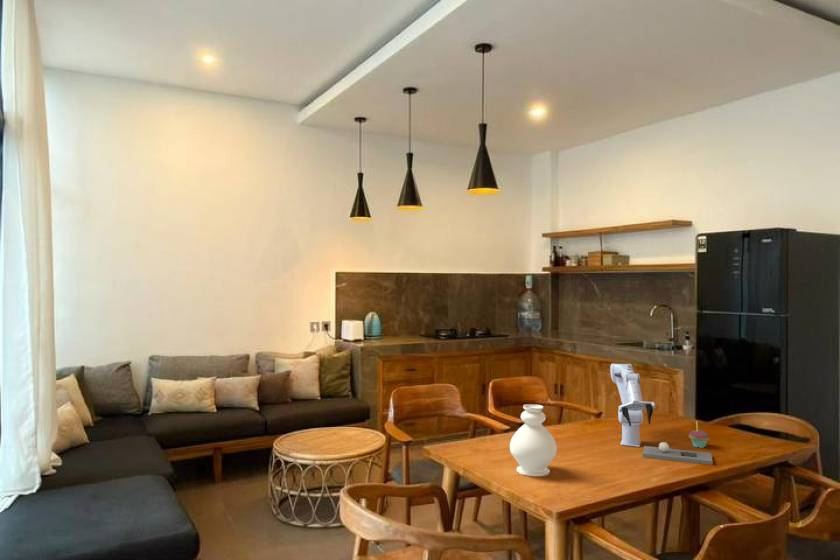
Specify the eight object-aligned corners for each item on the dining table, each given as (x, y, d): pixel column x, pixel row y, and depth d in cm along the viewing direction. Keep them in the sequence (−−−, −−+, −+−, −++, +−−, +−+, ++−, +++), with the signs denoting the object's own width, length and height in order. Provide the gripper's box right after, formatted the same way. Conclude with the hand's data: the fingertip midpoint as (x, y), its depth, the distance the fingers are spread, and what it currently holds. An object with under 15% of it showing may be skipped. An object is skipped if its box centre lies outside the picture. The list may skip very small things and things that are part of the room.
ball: (658, 450, 249) (658, 440, 249) (669, 451, 247) (669, 441, 247) (658, 452, 245) (658, 443, 245) (669, 453, 244) (669, 444, 244)
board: (644, 449, 255) (644, 445, 255) (710, 456, 245) (710, 452, 245) (642, 457, 244) (642, 453, 244) (712, 464, 234) (712, 461, 234)
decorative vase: (565, 471, 226) (565, 406, 226) (539, 482, 214) (539, 413, 214) (527, 460, 239) (527, 399, 239) (500, 470, 227) (500, 406, 226)
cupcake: (703, 450, 253) (703, 422, 253) (684, 445, 260) (684, 418, 260) (713, 446, 259) (713, 419, 259) (694, 442, 265) (694, 416, 265)
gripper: (616, 393, 254) (620, 419, 244) (651, 389, 249) (657, 415, 239) (618, 403, 258) (622, 429, 248) (653, 399, 254) (658, 425, 244)
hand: (639, 423), depth 244 cm, fingers open, 7 cm apart
